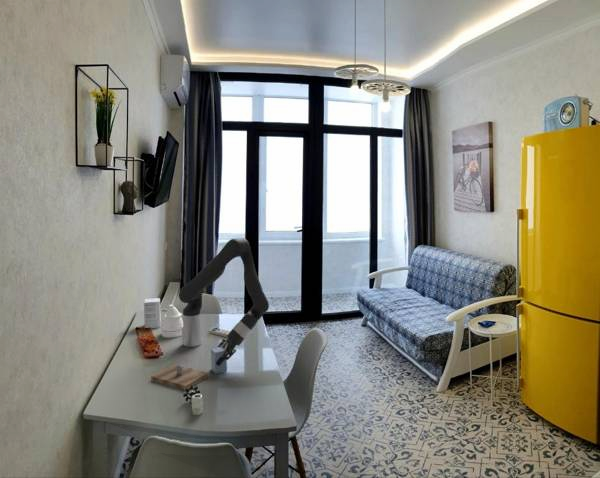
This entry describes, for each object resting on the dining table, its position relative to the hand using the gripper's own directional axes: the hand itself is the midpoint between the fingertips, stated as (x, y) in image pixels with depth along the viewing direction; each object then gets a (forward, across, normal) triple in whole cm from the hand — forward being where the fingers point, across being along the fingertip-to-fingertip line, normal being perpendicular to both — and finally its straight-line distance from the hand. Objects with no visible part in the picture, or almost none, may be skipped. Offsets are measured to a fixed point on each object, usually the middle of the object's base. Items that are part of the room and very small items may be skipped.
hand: (215, 362), depth 182 cm
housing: (+2, 0, +4) cm, 5 cm away
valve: (+15, +28, -8) cm, 33 cm away
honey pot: (+8, -62, -1) cm, 63 cm away
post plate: (+14, 0, -8) cm, 17 cm away
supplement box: (+13, -83, -7) cm, 85 cm away
